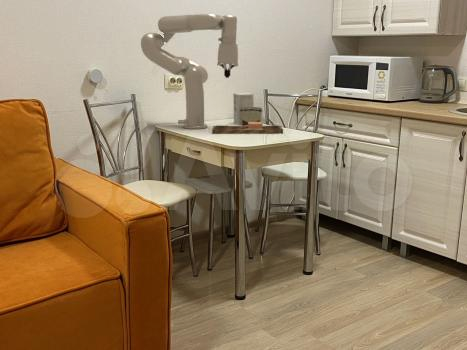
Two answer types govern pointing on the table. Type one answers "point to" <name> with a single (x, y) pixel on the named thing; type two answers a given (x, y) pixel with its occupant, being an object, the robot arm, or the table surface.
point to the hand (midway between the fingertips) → (227, 77)
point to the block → (254, 125)
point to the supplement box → (241, 105)
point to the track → (246, 130)
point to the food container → (250, 115)
